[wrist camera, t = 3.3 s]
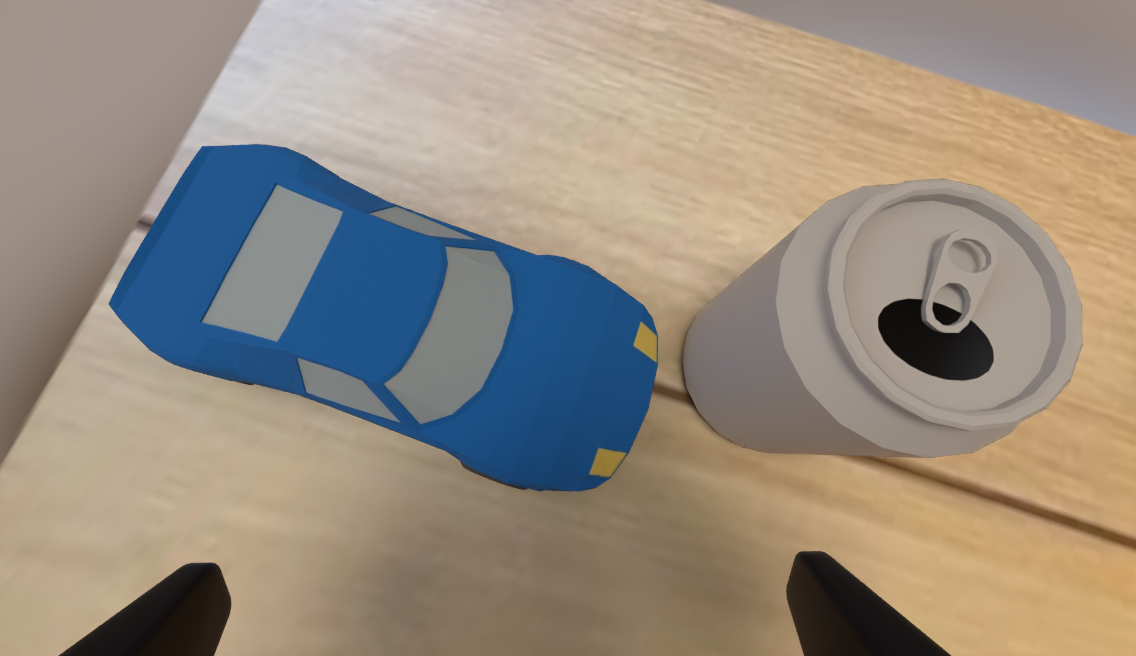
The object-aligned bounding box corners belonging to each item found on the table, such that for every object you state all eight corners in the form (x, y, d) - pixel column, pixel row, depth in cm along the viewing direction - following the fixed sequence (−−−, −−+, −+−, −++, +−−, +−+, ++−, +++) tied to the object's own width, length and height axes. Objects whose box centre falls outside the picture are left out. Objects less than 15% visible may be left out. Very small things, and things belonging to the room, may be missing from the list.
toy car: (603, 518, 22) (621, 538, 17) (161, 351, 23) (57, 325, 18) (670, 316, 24) (702, 283, 19) (263, 167, 25) (195, 100, 20)
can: (654, 415, 23) (769, 385, 12) (706, 266, 25) (851, 107, 13) (815, 478, 23) (1098, 512, 11) (856, 323, 25) (1139, 213, 13)
